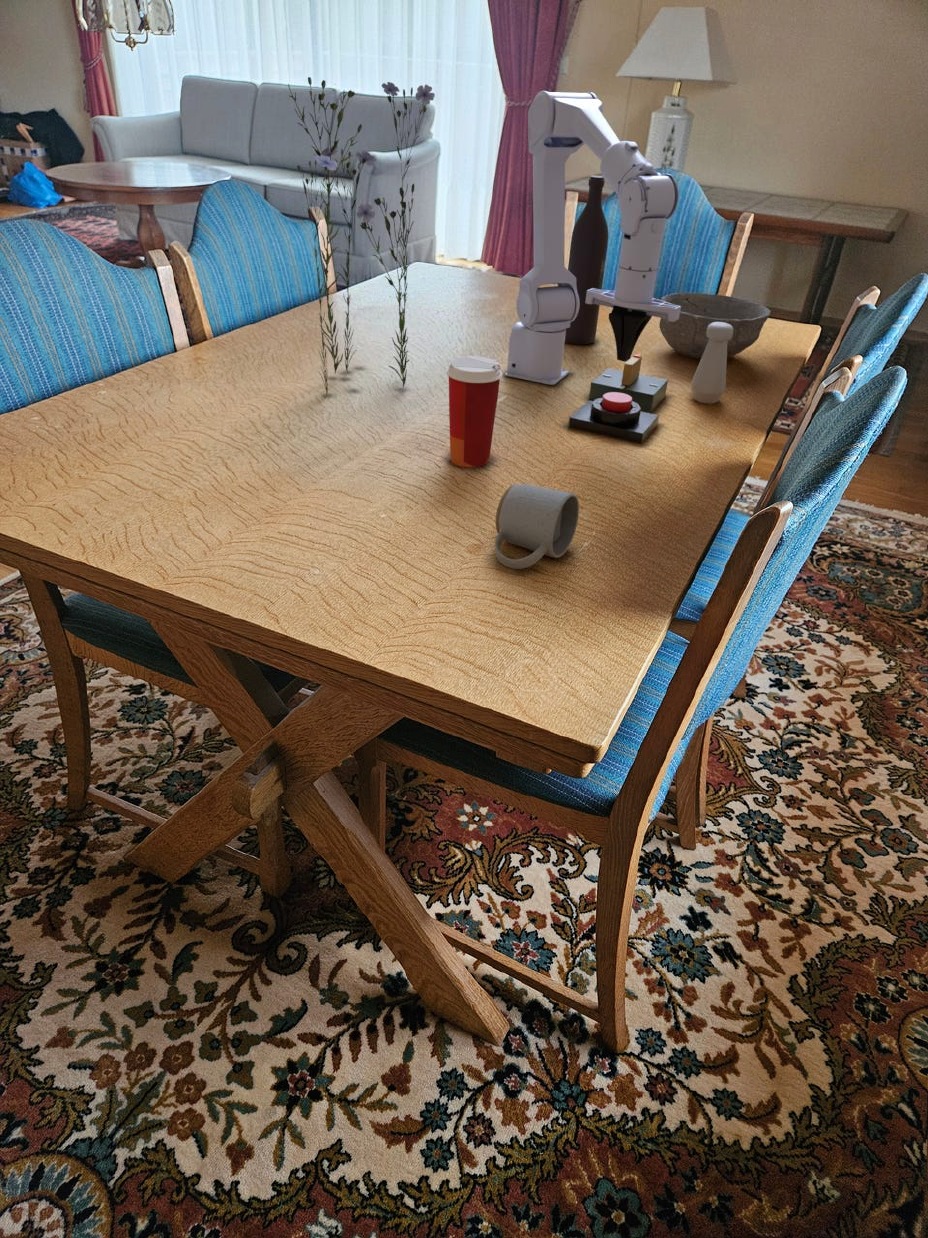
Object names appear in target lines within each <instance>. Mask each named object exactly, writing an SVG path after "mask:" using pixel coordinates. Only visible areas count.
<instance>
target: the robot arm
mask: <svg viewBox="0 0 928 1238" xmlns="http://www.w3.org/2000/svg"><path fill="white" fill-rule="evenodd" d="M527 137H528V139H527V141H528V152H529V153H530V154H532V210H533V212H532V213H533V214H532V215H533V216H532V217H533V220H532V221H533V225H532V227H533V267H532V268H531V269H530V270H529V271H528V272H527V273H526V274H525V275H523V277H521V278H520V279H519V281H518V283H519V286H518V295H517V298H516V304H515V305H516V307H515V308H516V309H515V310H516V315H517V317H518V320H519V321H517V322H515V323H514V326H513V327H512V329H511V332H510V336H509V342H508V353H507V354H508V355H507V367H506V372H505V376H506V377H511V378H515V379H520V380H524V381H530V382H535V383H539V384H544V385H548V386H555V385H556V384H558V383H559V382H560V381H561V380H562V379H564V378H565V377H566V376H568V375H569V373H570V372H569V370H566V369H563V360H564V351H565V343H566V342H565V334H566V328H570V323H571V322H572V321H574V320H575V318H576V317H577V314H578V311H579V306H580V301H579V296H578V293H577V287H576V277H575V276H574V275H573V274H572V273H571V272H570V271H568V268H567V267H566V266H565V252H566V251H565V250H566V249H565V248H566V247H565V242H566V241H565V239H566V238H565V237H566V236H565V235H566V234H565V233H566V232H565V230H566V228H565V226H566V225H565V224H566V221H565V218H566V217H565V216H566V215H565V214H566V211H565V210H566V209H565V208H566V207H565V206H566V205H565V204H566V201H565V200H566V198H565V197H566V162H567V161H568V159H569V158H570V157H571V155H572V154H574V153H576V152H578V151H579V150H580V149H581V148H582V147H583V146H584V145H585V146H587V148H588V149H589V150H590V151H591V152H592V153H593V154H594V155H595V156H596V157H597V158H598V159H599V160H600V166H599V169H600V174H601V176H603V177H604V180H605V182H607V183H608V185H609V186H610V187H611V189H612V190H613V191H614V192H615V193H616V195H617V196H618V207H619V209H618V210H619V213H620V225H619V227H620V231H621V232H622V238H621V243H620V244H621V245H620V252H619V259H618V266H617V273H616V279H615V286H614V290H609V289H602V290H601V289H595V288H592V289H589V290H587V294H586V302H585V303H587V304H598V305H600V306H603V307H608V308H612V310H611V312H609V313H608V320H609V323H610V326H611V328H612V332H613V335H614V340H615V349H616V360H617V361H620V362H623V363H626V362H627V361H628V360H629V359H630V358H632V356H633V355H632V354H633V352H634V349H635V347H636V344H637V342H638V340H639V338H640V337H641V334H642V333H643V331H644V329H645V328H646V326H647V325H648V323H649V322H650V321H651V320H652V317H655V318H659V319H661V318H664V319H668V321H671V322H674V321H676V320H678V319H679V315H680V310H681V306H679V305H674V304H671V303H668V302H665V301H662V300H661V299H658V298H655V297H654V295H655V294H654V293H655V287H656V282H657V275H658V270H659V269H658V268H659V263H660V259H661V258H660V257H661V252H662V246H663V245H662V244H663V240H664V233H665V228H666V222H667V220H669V219H670V218H671V217H672V216H673V215H674V214H675V212H676V210H677V207H678V205H679V199H680V197H679V196H680V192H679V191H680V190H679V186H678V183H677V181H676V179H675V178H674V176H673V175H672V174H670V173H660V172H657V171H656V170H655V167H654V165H652V163H650V162H649V161H648V160H647V159H646V158H645V157H644V155H643V154H642V153H641V151H639V145H638V144H637V143H636V141H628V140H621V141H620V139H619V137H618V136H617V134H616V133H615V132H614V130H613V128H612V127H611V126H610V124H609V122H608V121H607V120H606V118H605V117H604V106H603V102H602V101H601V100H600V99H599V98H598V96H597V95H596V94H595V93H594V92H591V91H587V92H586V91H585V92H557V91H556V92H554V91H548V90H541V91H539V92H538V93H537V94H536V95H535V97H534V98H533V101H532V102H531V104H530V107H529V109H528V112H527ZM544 285H553V286H544Z"/></svg>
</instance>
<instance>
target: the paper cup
mask: <svg viewBox="0 0 928 1238" xmlns="http://www.w3.org/2000/svg"><path fill="white" fill-rule="evenodd" d="M447 366H448V367H447V368H446V369H445V374H446V375H447V376H448V406H449V407H448V419H449V423H448V424H449V454H450V456H449V457H450V461H451V462H452V463H453V464H455V465H457V466H459V467H463V468H481V467H483V466H486V465H487V464H488V463H489V460H490V455H491V449H492V442H493V435H494V427H495V421H496V412H497V405H498V400H499V390H500V382H501V379H502V378H503V375H504V374H503V372H502V370H501V365H500V363H499V362H498V361H497V360H495V359H492V358H489V357H485V356H478V355H466V356H465V355H464V356H460V357H456V358H453V359H452V360H451V361H450V363H448V365H447Z"/></svg>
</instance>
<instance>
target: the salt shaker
mask: <svg viewBox="0 0 928 1238" xmlns="http://www.w3.org/2000/svg"><path fill="white" fill-rule="evenodd" d="M706 335H707V337H708V338H709V340H708V343H707V346H706V348H705V351H704V353H703V356H702V358H701V359H700V361H699V364H698V366H697V368H696V371H695V373H694V376H693V378H692V380H691V385H690V387H691V393H692V398H693V400H695V401H697V402H699V403H700V404H710V405H713V404H715V403H717V402H719V400H720V399H721V397H722V396H723V395H724V394H725V391H726V383H727V362H728V361H727V359H728V357H727V342H728V340H730V339H731V338H732V335H733V327H732V326H731V325H730V324H728V323H724V322H713V323H711V324H709V325H708V328H707V332H706Z"/></svg>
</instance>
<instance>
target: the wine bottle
mask: <svg viewBox="0 0 928 1238" xmlns="http://www.w3.org/2000/svg"><path fill="white" fill-rule="evenodd" d="M605 182H606V179H605V178H604V177H603V176H602V175H590V178H588V183H587V184H588V193H587V195H588V196H587V198H586V204H585V206H584V208H583V209H582V211H581V213H580V214H579V216H578V218H577V220H576V222H575V223H574V226H573V229H572V232H571V239H570V245H569V246H570V247H569V256H568V265H567V270H568V271H570V272H571V273H572V274H573V275H574V276H575V277H576V287H577V293H578V296H579V301H580V306H579V311H578V314H577V317H576V318H575V320H574V321H572V322H571V323H570V328H566V334H565V343H566V344H571V345H578V346H586V345H590V344H593V343H595V340H596V335H597V330H598V329H597V328H598V321H599V314H600V307H601V305H598V304H587V303H585V302H586V294H587V290H589V289H592V288H595V289H601V290H603V285H604V276H605V269H606V262H607V261H606V260H607V253H608V245H609V227H608V222H607V219H606V217H605V213H604V209H603V206H602V200H603V199H602V196H603V188H604V187H605Z"/></svg>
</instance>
